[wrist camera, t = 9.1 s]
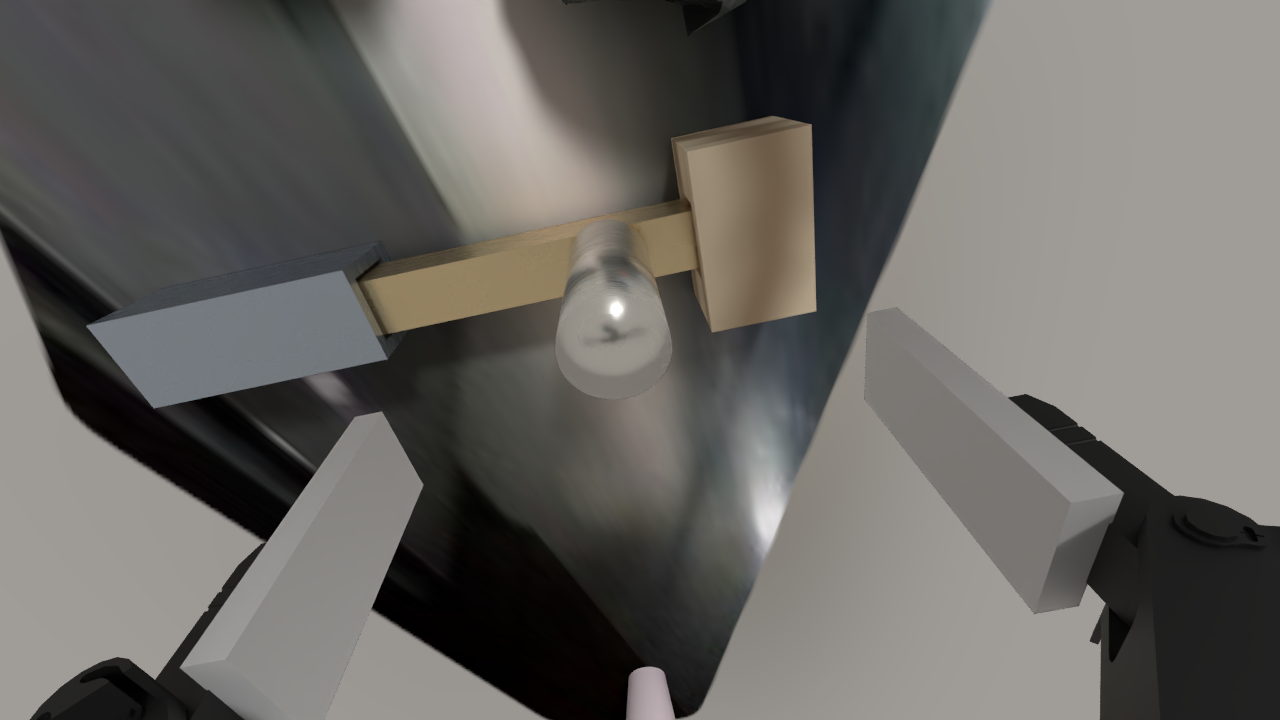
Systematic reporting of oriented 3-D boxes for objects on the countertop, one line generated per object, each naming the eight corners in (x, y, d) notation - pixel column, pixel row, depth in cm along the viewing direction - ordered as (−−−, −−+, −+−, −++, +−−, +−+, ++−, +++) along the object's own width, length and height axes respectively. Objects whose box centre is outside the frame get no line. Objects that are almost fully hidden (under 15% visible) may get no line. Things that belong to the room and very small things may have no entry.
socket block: (694, 292, 32) (712, 332, 27) (670, 138, 27) (686, 151, 22) (781, 273, 31) (816, 311, 27) (772, 115, 27) (811, 124, 22)
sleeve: (214, 362, 32) (153, 408, 27) (162, 288, 29) (86, 325, 25) (417, 319, 31) (387, 359, 27) (381, 240, 29) (342, 270, 24)
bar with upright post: (359, 329, 30) (216, 481, 19) (326, 265, 28) (144, 393, 17) (742, 248, 29) (832, 356, 18) (735, 177, 28) (831, 248, 16)
